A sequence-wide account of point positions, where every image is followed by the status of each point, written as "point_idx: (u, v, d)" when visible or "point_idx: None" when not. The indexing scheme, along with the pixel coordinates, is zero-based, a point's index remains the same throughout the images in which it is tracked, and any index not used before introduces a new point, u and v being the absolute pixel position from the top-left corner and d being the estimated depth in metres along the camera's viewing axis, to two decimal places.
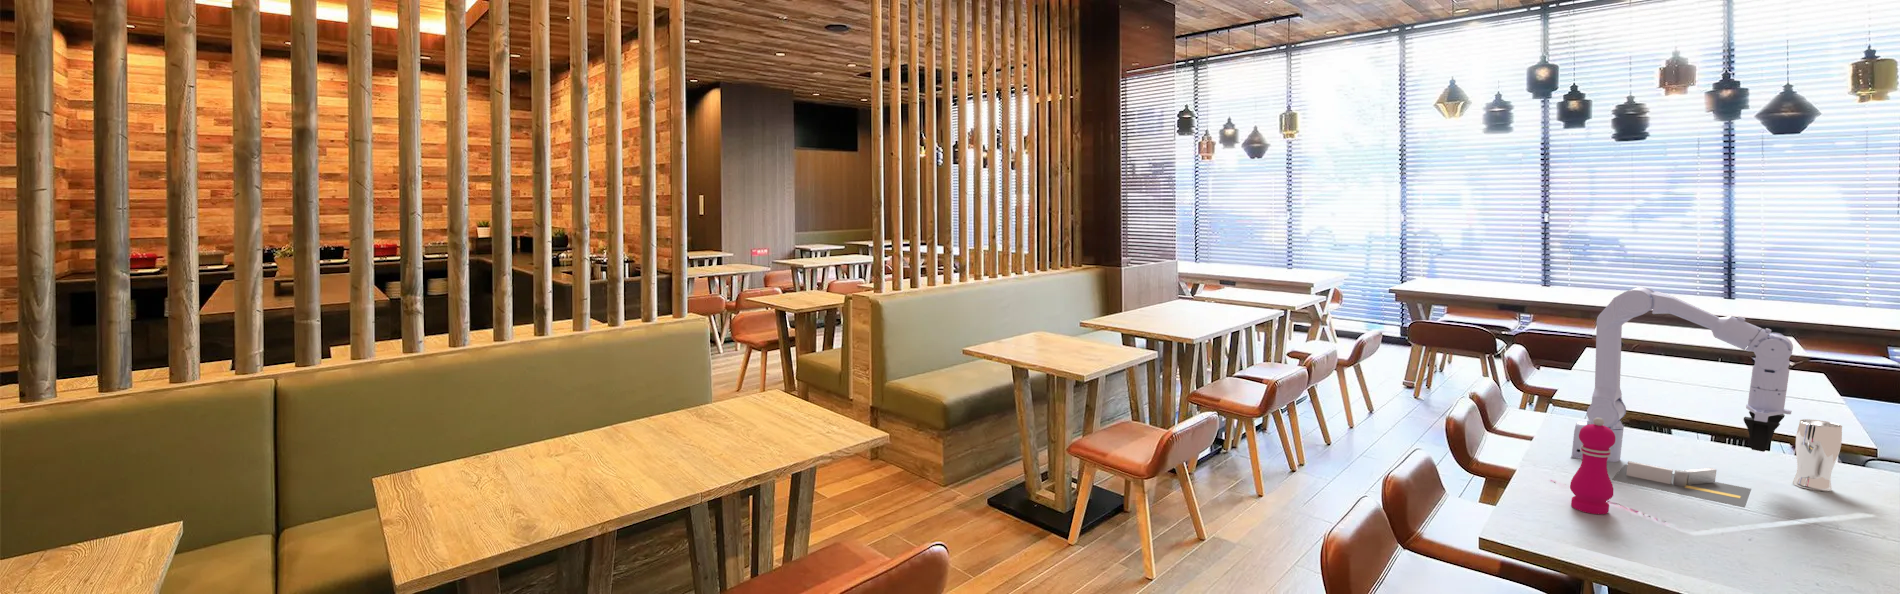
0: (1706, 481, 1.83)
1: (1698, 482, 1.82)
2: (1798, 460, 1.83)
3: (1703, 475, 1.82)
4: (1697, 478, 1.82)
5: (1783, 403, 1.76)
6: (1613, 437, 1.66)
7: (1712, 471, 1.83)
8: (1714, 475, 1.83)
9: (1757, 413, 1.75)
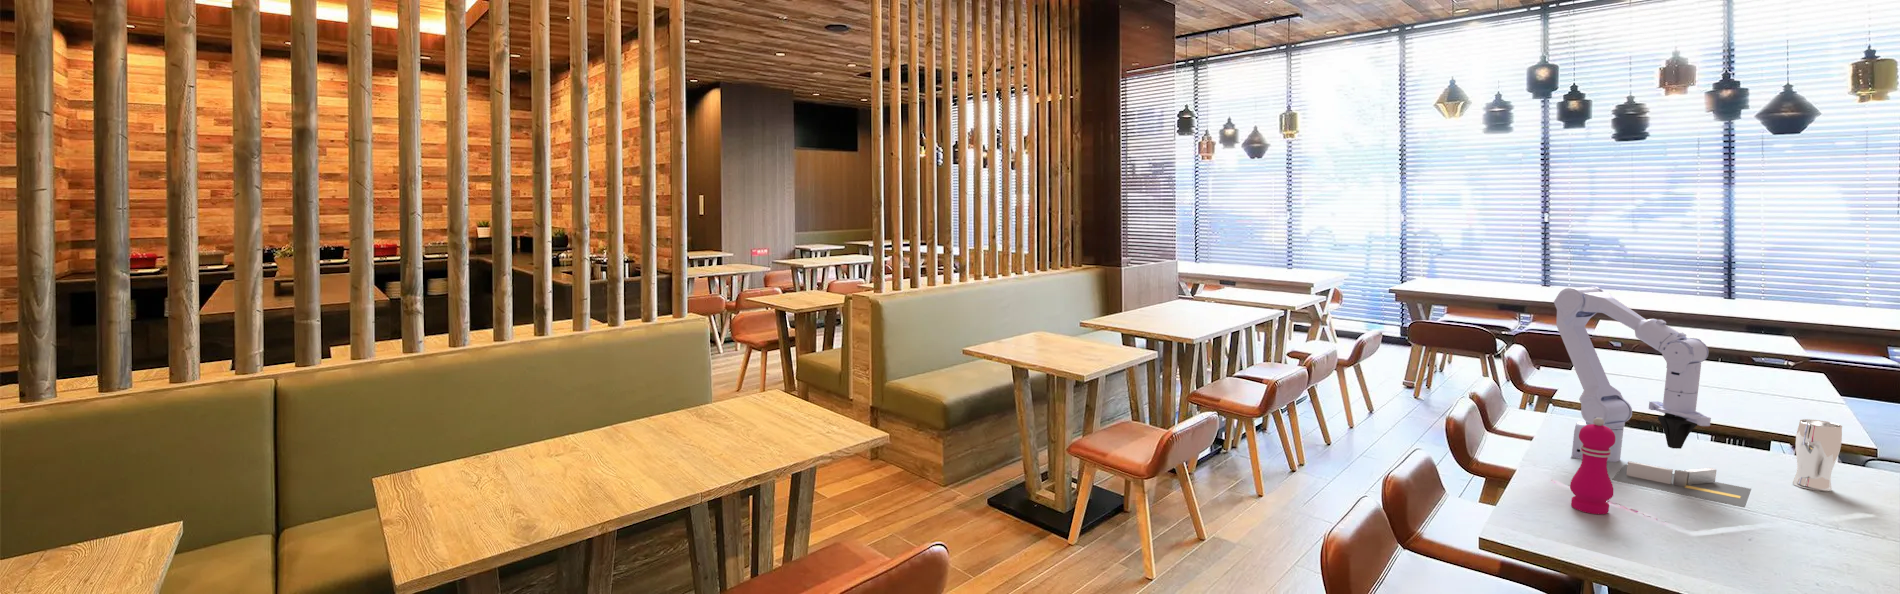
0: (1706, 481, 1.83)
1: (1698, 482, 1.82)
2: (1798, 460, 1.83)
3: (1703, 475, 1.82)
4: (1697, 478, 1.82)
5: (1664, 401, 1.86)
6: (1613, 437, 1.66)
7: (1712, 471, 1.83)
8: (1714, 475, 1.83)
9: None
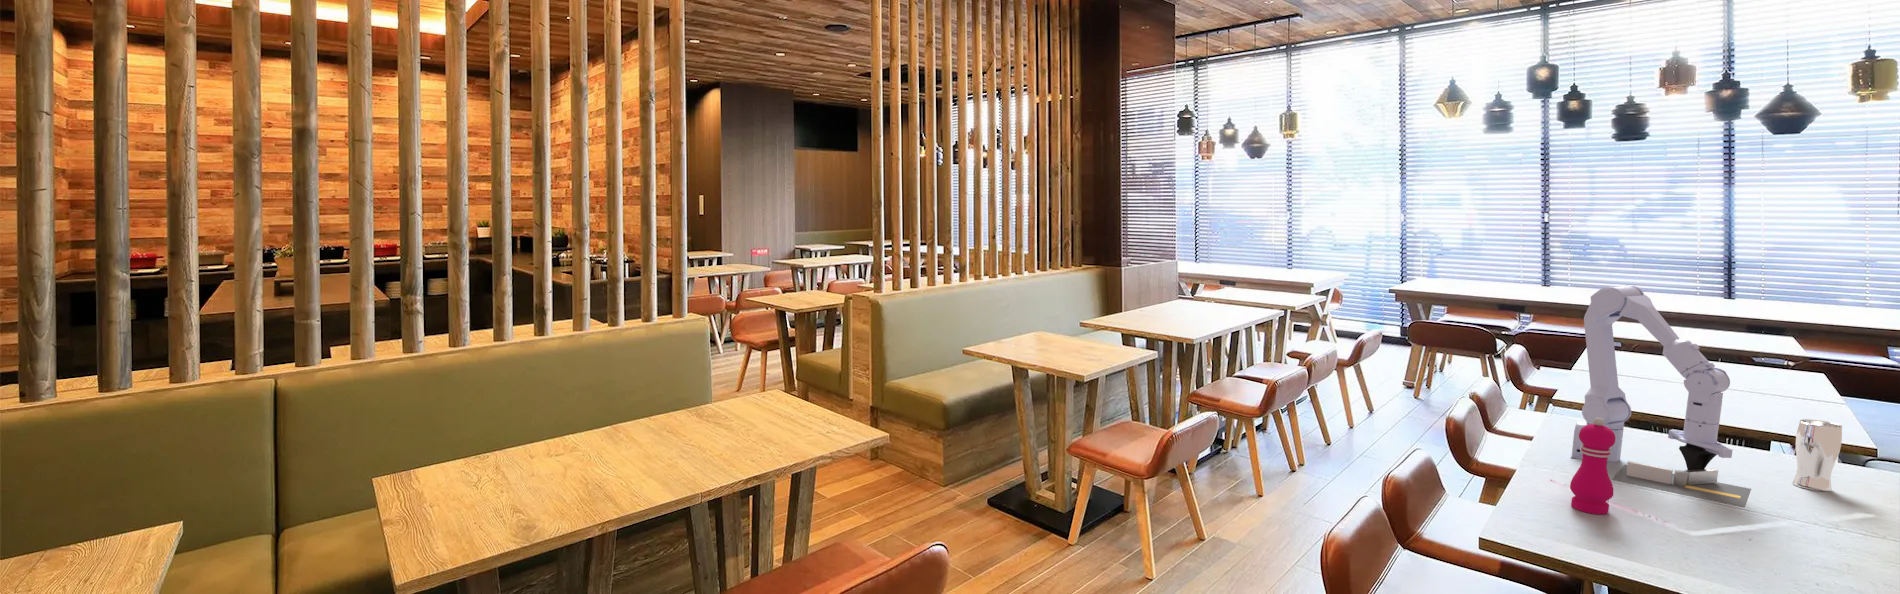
0: (1707, 481, 1.82)
1: (1699, 482, 1.82)
2: (1798, 460, 1.83)
3: (1704, 475, 1.82)
4: (1697, 478, 1.82)
5: (1685, 431, 1.84)
6: (1613, 437, 1.66)
7: (1714, 472, 1.82)
8: (1716, 476, 1.83)
9: None
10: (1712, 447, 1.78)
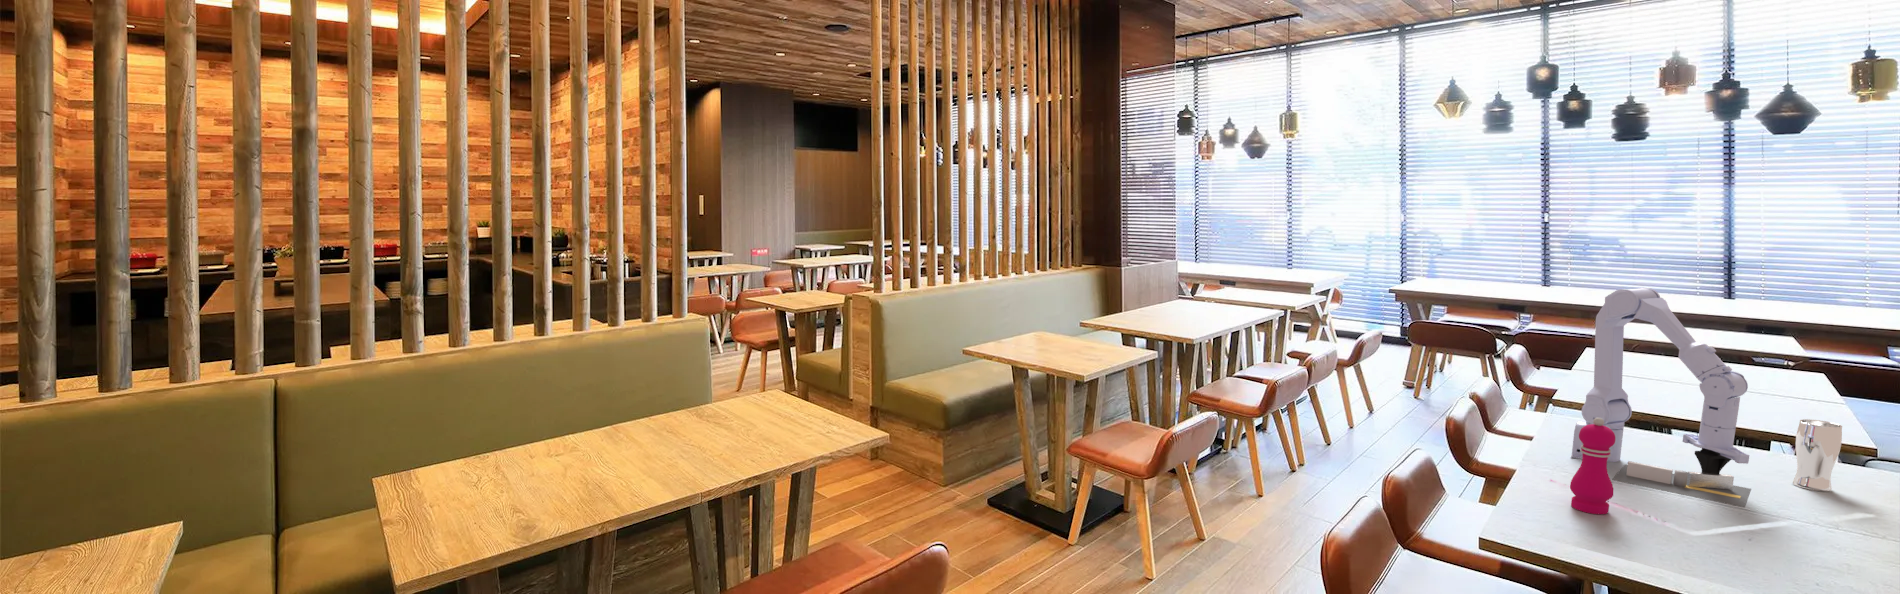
0: (1718, 486, 1.79)
1: (1705, 486, 1.80)
2: (1798, 461, 1.83)
3: (1713, 479, 1.79)
4: (1703, 481, 1.80)
5: (1700, 436, 1.81)
6: (1613, 437, 1.66)
7: (1727, 478, 1.79)
8: (1730, 482, 1.79)
9: None
10: (1728, 452, 1.75)
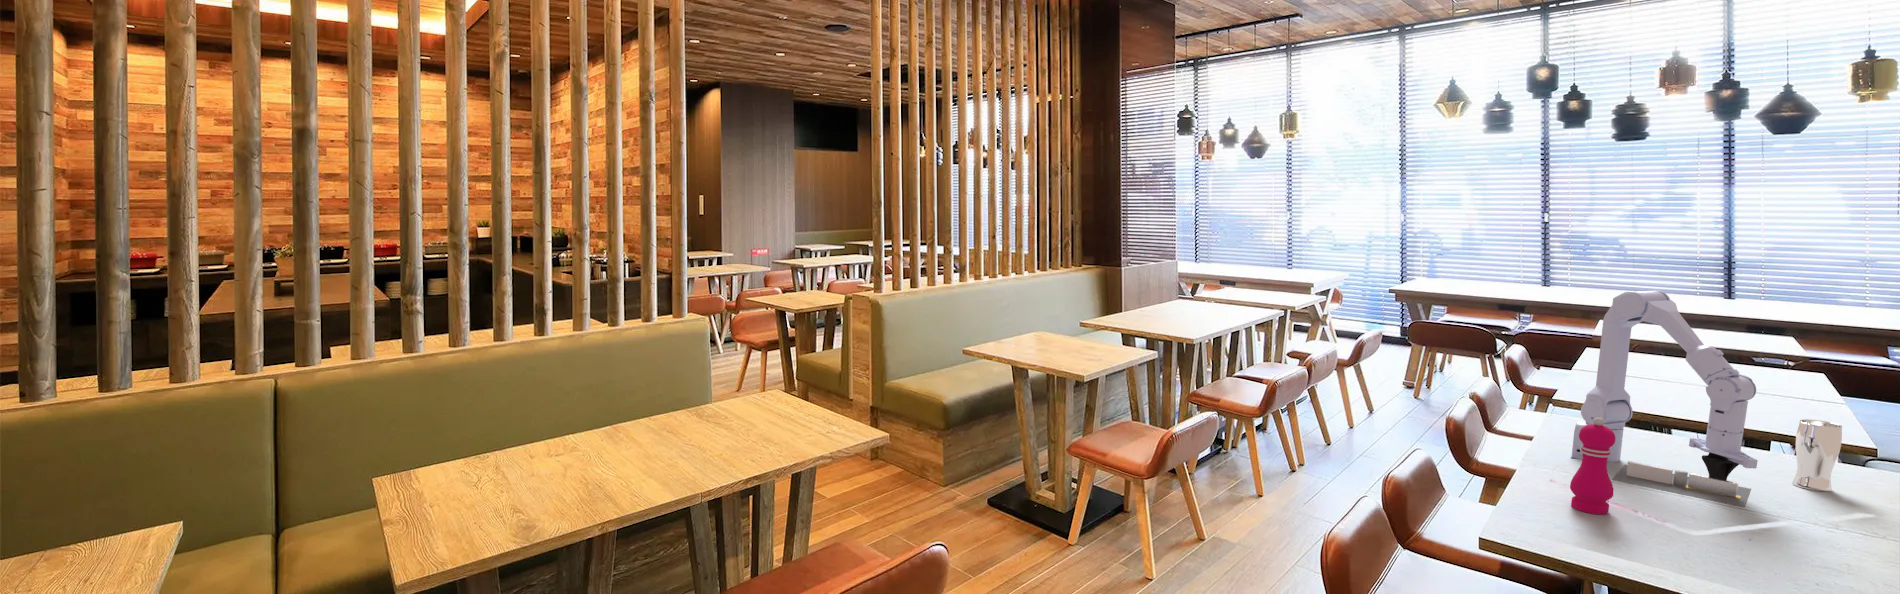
0: (1719, 492, 1.76)
1: (1705, 489, 1.78)
2: (1798, 460, 1.83)
3: (1714, 484, 1.77)
4: (1703, 484, 1.78)
5: (1707, 440, 1.78)
6: (1613, 437, 1.66)
7: (1730, 484, 1.75)
8: (1733, 489, 1.74)
9: None
10: (1736, 457, 1.72)
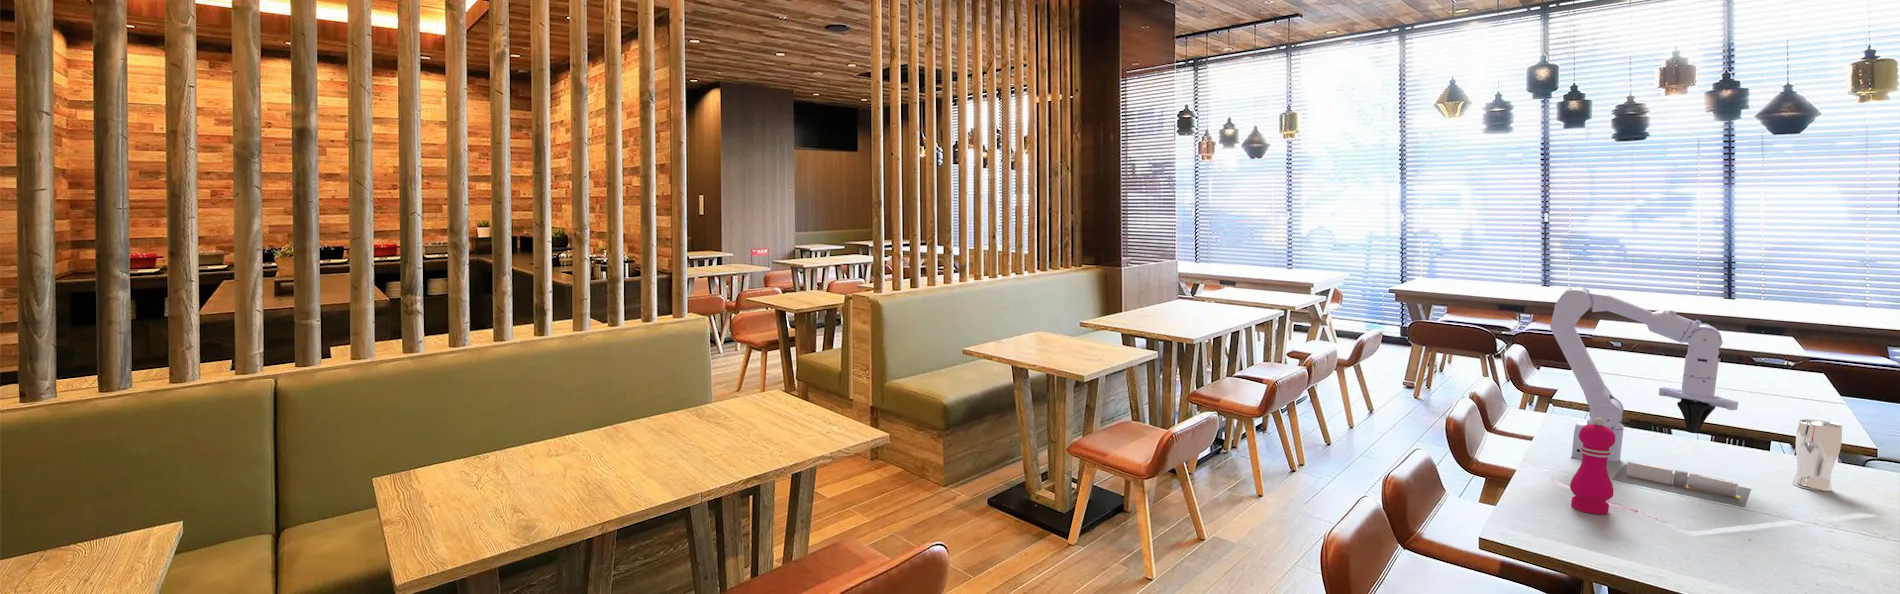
0: (1719, 492, 1.76)
1: (1705, 489, 1.78)
2: (1798, 460, 1.83)
3: (1714, 484, 1.77)
4: (1703, 484, 1.78)
5: (1686, 388, 1.88)
6: (1613, 437, 1.66)
7: (1730, 484, 1.75)
8: (1733, 489, 1.74)
9: None
10: (1719, 401, 1.84)
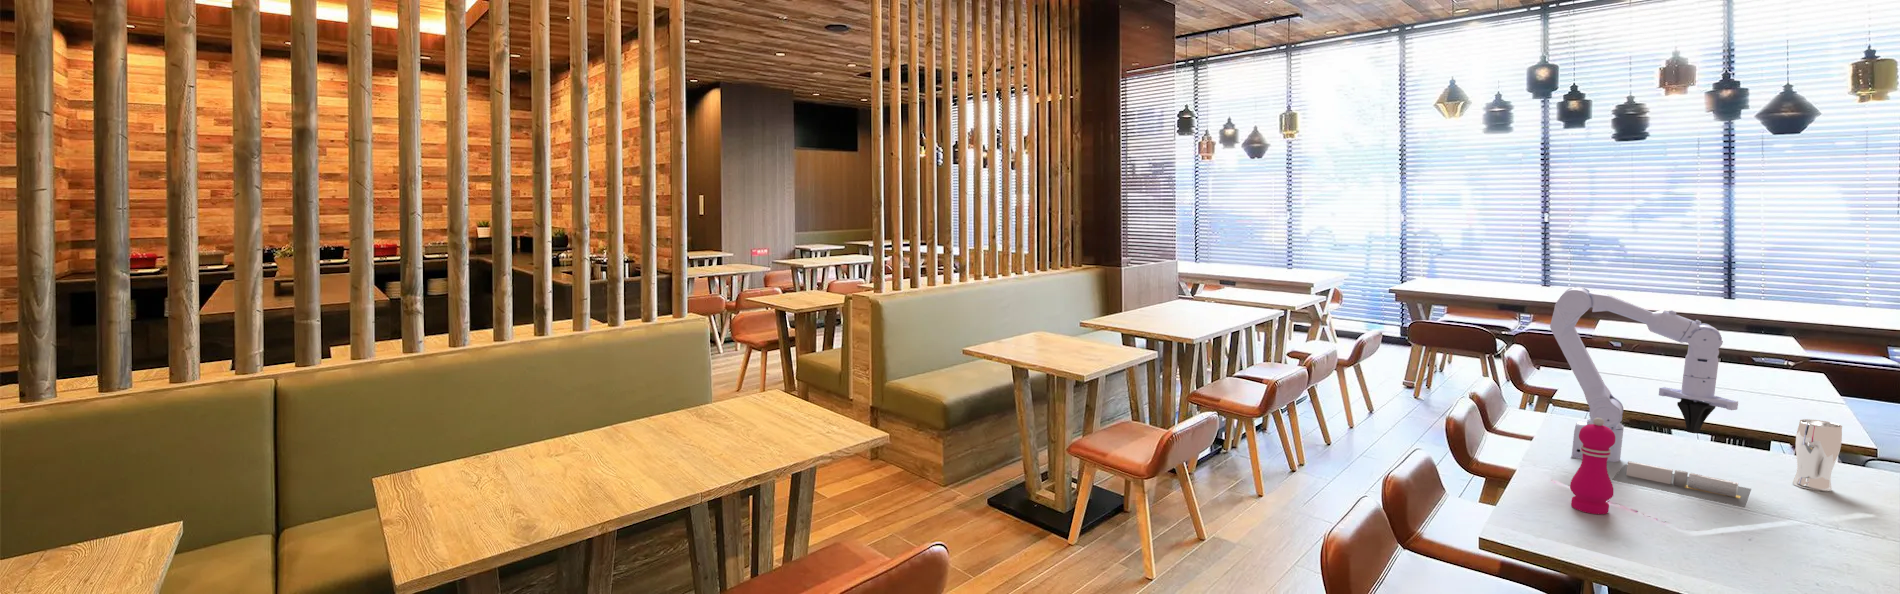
0: (1719, 492, 1.76)
1: (1705, 489, 1.78)
2: (1798, 461, 1.83)
3: (1714, 484, 1.77)
4: (1703, 484, 1.78)
5: (1686, 388, 1.88)
6: (1613, 437, 1.66)
7: (1730, 484, 1.75)
8: (1733, 489, 1.74)
9: None
10: (1719, 401, 1.84)
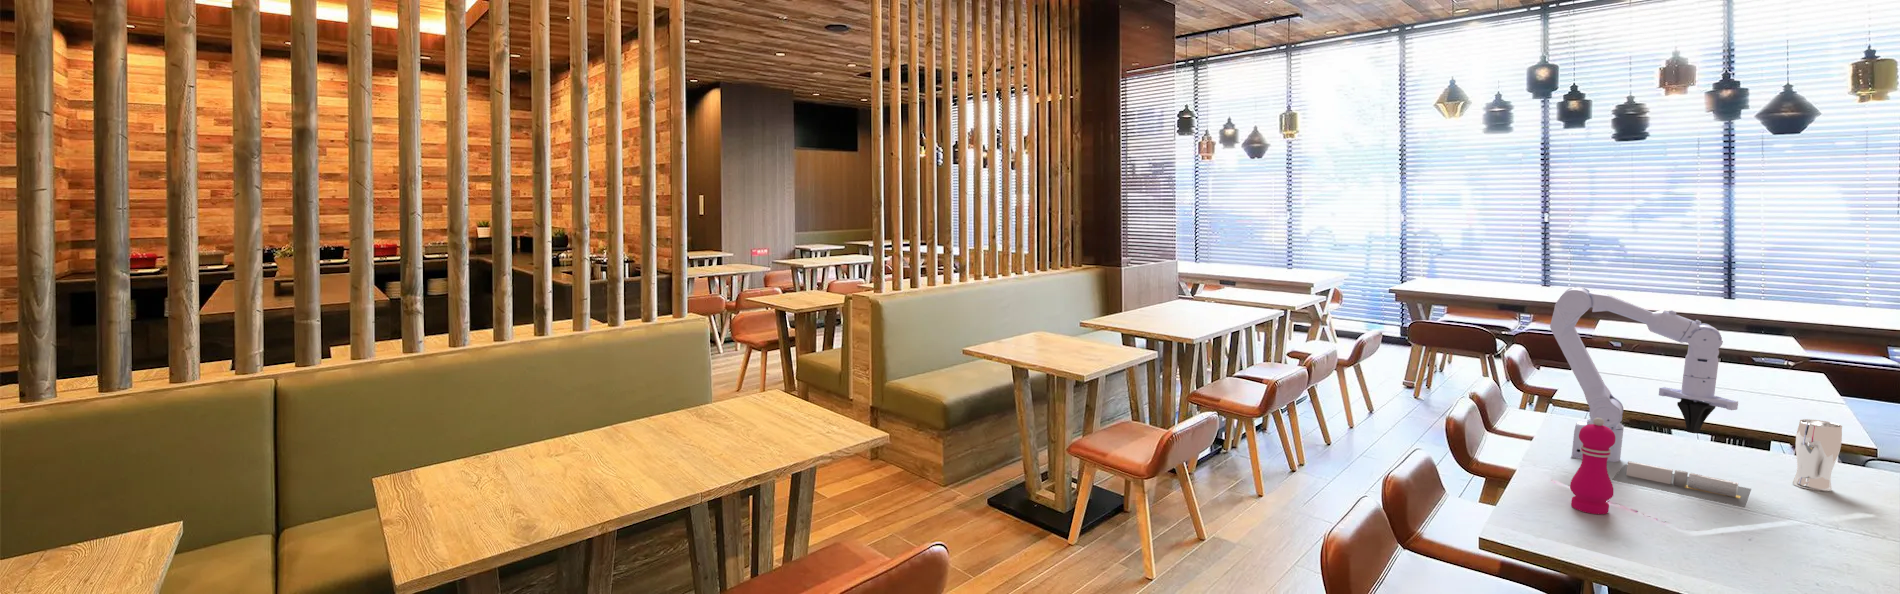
0: (1719, 492, 1.76)
1: (1705, 489, 1.78)
2: (1798, 461, 1.83)
3: (1714, 484, 1.77)
4: (1703, 484, 1.78)
5: (1686, 388, 1.88)
6: (1613, 437, 1.66)
7: (1730, 484, 1.75)
8: (1733, 489, 1.74)
9: None
10: (1719, 401, 1.84)
